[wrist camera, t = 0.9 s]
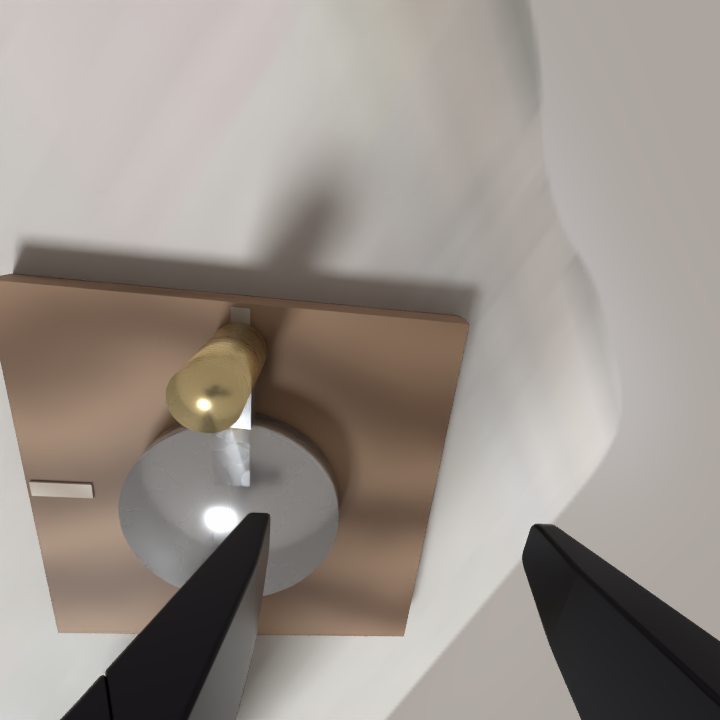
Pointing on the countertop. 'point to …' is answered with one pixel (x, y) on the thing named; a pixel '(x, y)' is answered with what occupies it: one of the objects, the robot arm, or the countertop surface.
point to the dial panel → (273, 398)
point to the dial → (228, 472)
